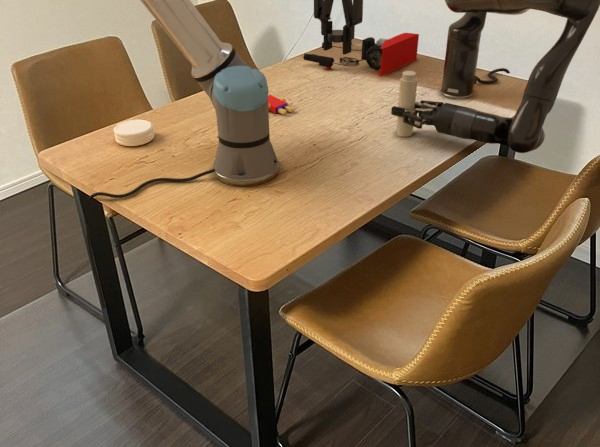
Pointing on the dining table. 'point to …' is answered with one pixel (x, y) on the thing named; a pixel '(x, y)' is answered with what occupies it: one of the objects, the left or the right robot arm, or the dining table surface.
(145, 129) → the white short cylinder
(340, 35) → the lid
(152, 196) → the dining table surface
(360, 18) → the left robot arm
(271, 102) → the toy figure
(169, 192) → the dining table surface
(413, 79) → the beige long cylinder
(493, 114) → the right robot arm
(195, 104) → the dining table surface
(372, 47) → the electric hoist
